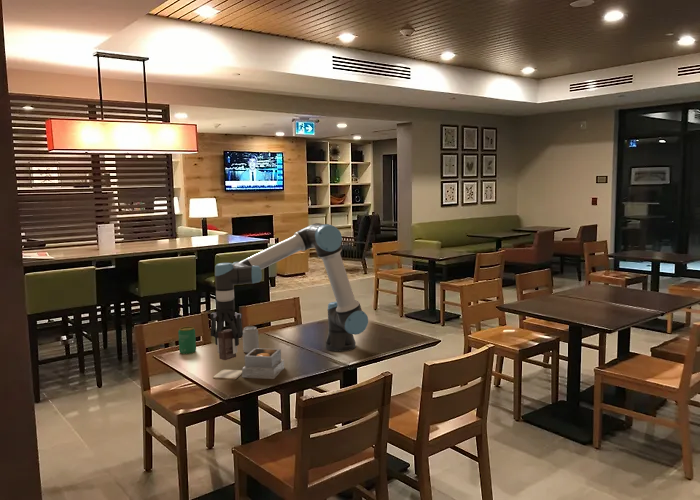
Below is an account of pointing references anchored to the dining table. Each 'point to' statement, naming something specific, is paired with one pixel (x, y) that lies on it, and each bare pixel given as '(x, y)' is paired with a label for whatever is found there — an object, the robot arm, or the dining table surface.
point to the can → (250, 339)
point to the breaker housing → (263, 364)
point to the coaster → (228, 374)
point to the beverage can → (187, 340)
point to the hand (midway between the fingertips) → (227, 352)
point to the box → (226, 344)
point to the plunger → (263, 354)
